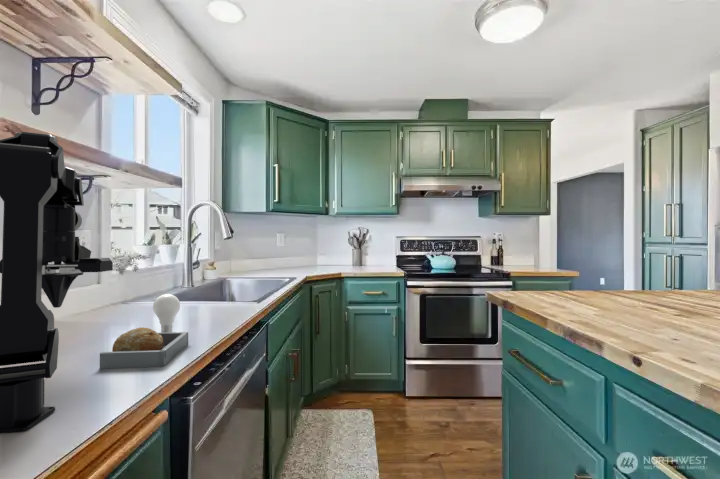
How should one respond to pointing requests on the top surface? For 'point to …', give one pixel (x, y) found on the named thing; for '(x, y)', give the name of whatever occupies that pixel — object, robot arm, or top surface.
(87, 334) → the top surface
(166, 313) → the lightbulb
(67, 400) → the top surface
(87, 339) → the top surface
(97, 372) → the top surface
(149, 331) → the bread roll
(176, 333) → the grey u-shaped frame
